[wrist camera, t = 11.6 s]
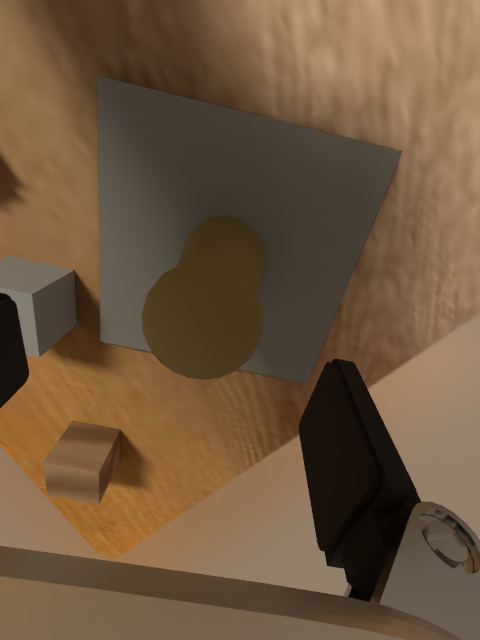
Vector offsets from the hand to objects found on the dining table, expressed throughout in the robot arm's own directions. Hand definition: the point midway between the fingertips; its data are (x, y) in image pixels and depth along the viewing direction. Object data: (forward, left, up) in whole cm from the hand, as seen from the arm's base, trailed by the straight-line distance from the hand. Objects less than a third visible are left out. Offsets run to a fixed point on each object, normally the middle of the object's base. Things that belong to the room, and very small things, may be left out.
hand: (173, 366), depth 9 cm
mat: (+1, 0, -14) cm, 14 cm away
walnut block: (+24, -10, -14) cm, 29 cm away
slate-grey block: (+7, -14, -14) cm, 21 cm away
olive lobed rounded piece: (0, 0, -13) cm, 13 cm away
